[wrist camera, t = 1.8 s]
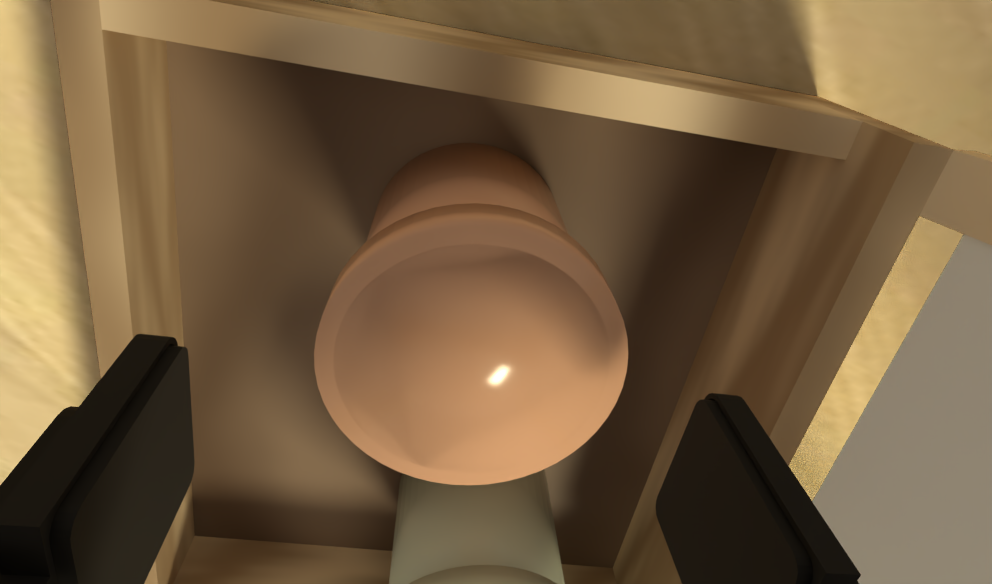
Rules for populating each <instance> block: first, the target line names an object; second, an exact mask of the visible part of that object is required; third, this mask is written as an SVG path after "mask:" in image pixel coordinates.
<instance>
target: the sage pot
mask: <svg viewBox="0 0 992 584" xmlns="http://www.w3.org/2000/svg"><path fill="white" fill-rule="evenodd" d="M389 584H565V582H564V576H563V571H562V565H561V559H560V553H559V547H558V542H557V536H556V530H555V524H554V518H553V513H552V507H551V501H550V495H549V489H548V484H547V478H546V473H545V470H544V469H543V470H541V471H539V472H536V473H533V474H530V475H528V476H525V477H522V478H518V479H514V480H510V481H506V482H500V483H493V484H485V485H450V484H443V483H436V482H430V481H426V480H422V479H418V478H414V477H412V476H409V475H406V474H403V473H402V475H401V479H400V484H399V494H398V503H397V512H396V522H395V531H394V540H393V550H392V559H391V568H390V578H389Z"/></svg>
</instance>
